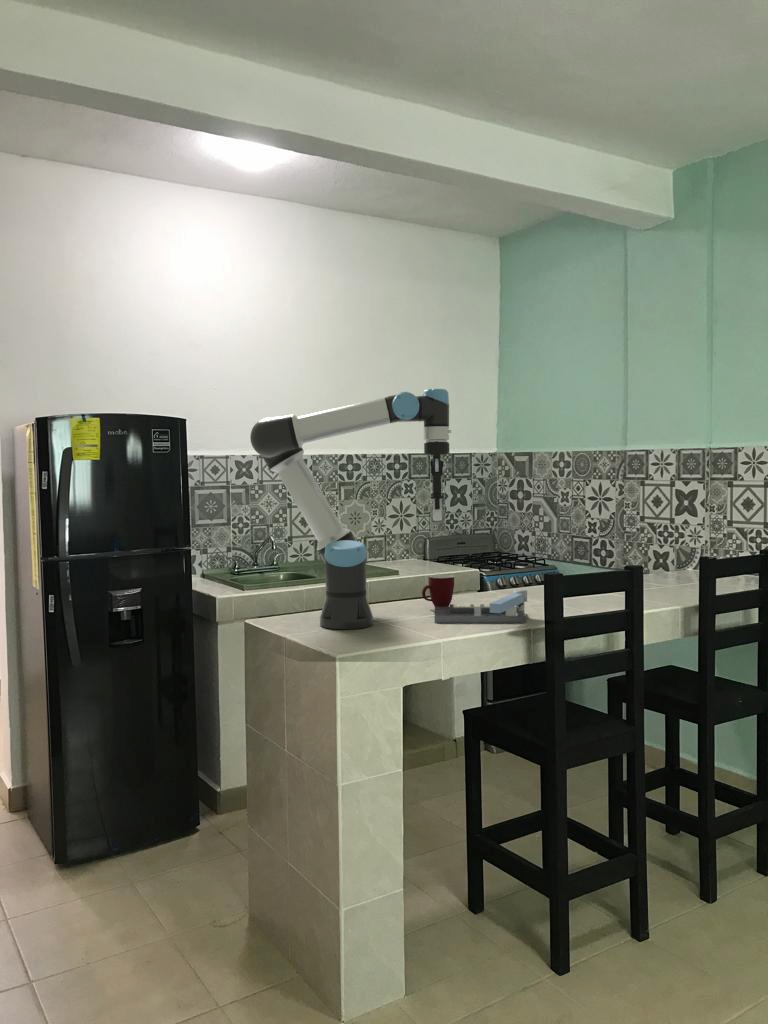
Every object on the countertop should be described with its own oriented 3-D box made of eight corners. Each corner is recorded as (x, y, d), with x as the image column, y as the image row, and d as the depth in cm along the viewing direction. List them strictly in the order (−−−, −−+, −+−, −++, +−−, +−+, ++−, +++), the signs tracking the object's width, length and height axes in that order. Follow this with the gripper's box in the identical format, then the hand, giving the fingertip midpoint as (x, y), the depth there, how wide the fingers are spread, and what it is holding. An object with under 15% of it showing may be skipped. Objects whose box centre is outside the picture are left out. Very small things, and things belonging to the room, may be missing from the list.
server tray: (434, 622, 240) (434, 607, 240) (434, 613, 255) (434, 598, 255) (527, 622, 238) (527, 607, 238) (521, 613, 253) (521, 598, 253)
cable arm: (515, 599, 248) (515, 589, 248) (529, 600, 246) (528, 590, 246) (487, 612, 228) (487, 601, 228) (501, 613, 226) (501, 602, 226)
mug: (430, 611, 257) (430, 579, 257) (417, 608, 264) (416, 576, 264) (459, 608, 262) (459, 576, 262) (445, 604, 269) (445, 573, 269)
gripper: (449, 440, 243) (450, 521, 245) (449, 441, 256) (449, 518, 258) (423, 441, 244) (424, 522, 245) (424, 442, 257) (425, 518, 258)
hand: (437, 520), depth 252 cm, fingers closed
